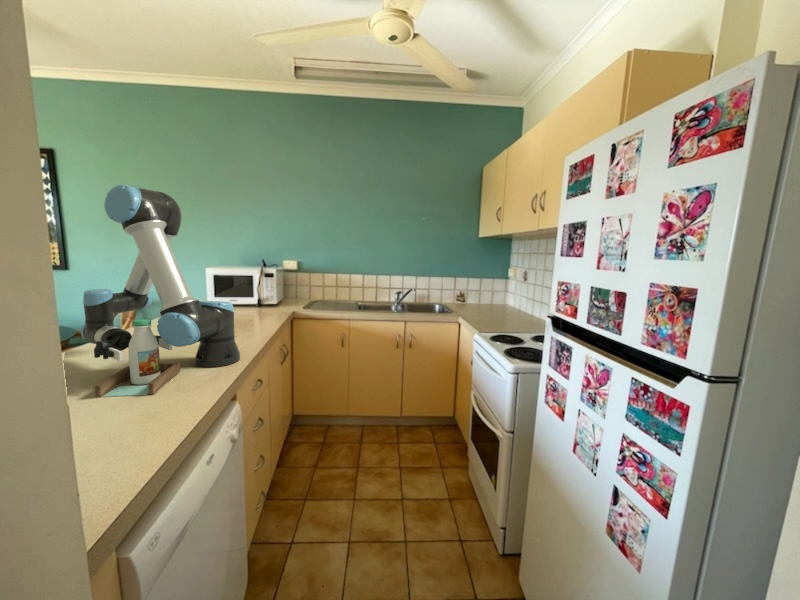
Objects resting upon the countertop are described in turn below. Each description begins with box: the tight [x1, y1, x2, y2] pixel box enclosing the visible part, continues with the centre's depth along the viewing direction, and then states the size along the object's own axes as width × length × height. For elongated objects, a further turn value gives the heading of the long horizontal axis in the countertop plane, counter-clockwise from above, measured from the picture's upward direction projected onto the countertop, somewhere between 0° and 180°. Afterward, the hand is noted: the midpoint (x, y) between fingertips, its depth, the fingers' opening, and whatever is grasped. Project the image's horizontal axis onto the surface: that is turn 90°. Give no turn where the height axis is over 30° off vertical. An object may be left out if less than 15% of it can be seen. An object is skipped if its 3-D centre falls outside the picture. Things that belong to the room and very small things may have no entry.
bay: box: [94, 361, 181, 398], centre depth 105 cm, size 14×18×4 cm
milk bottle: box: [127, 318, 161, 386], centre depth 106 cm, size 8×8×20 cm
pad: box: [102, 384, 149, 398], centre depth 100 cm, size 11×7×1 cm, turn 102°
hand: (147, 350), depth 104 cm, fingers open, 13 cm apart
